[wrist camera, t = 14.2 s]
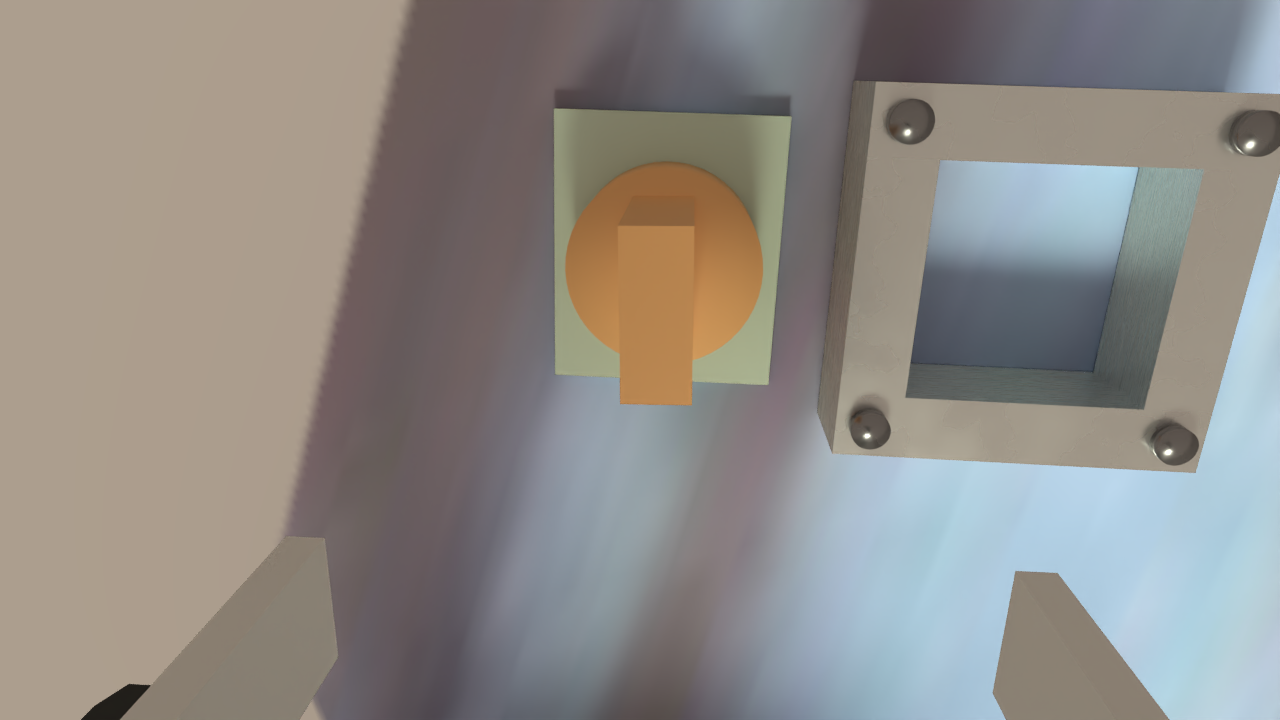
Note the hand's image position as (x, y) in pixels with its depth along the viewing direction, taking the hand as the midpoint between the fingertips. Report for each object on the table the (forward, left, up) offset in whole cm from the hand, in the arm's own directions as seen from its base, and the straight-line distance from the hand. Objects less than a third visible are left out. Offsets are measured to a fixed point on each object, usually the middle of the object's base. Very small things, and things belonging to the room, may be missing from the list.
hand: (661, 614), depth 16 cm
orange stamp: (+2, +1, -23) cm, 23 cm away
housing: (+2, -14, -23) cm, 28 cm away
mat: (+2, +1, -23) cm, 23 cm away
